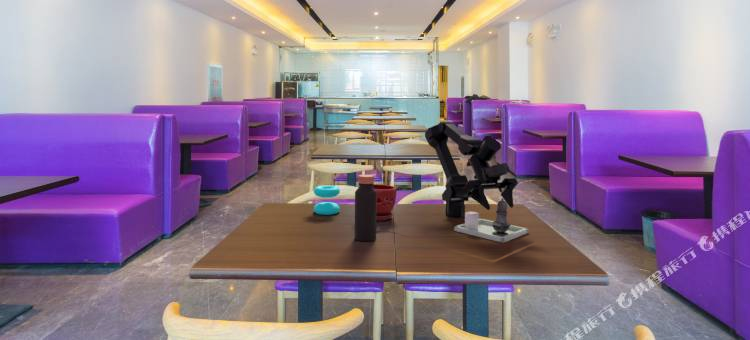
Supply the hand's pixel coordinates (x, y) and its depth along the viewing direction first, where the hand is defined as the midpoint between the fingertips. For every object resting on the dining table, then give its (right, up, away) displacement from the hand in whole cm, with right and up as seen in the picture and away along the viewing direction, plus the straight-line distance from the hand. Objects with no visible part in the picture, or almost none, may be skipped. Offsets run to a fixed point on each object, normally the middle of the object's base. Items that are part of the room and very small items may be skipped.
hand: (500, 208), depth 147 cm
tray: (-2, -9, +4) cm, 10 cm away
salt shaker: (0, -9, +1) cm, 9 cm away
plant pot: (-39, -6, +22) cm, 46 cm away
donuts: (-59, -4, +29) cm, 66 cm away
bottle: (-44, -9, -4) cm, 45 cm away
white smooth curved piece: (-9, -8, +4) cm, 12 cm away
